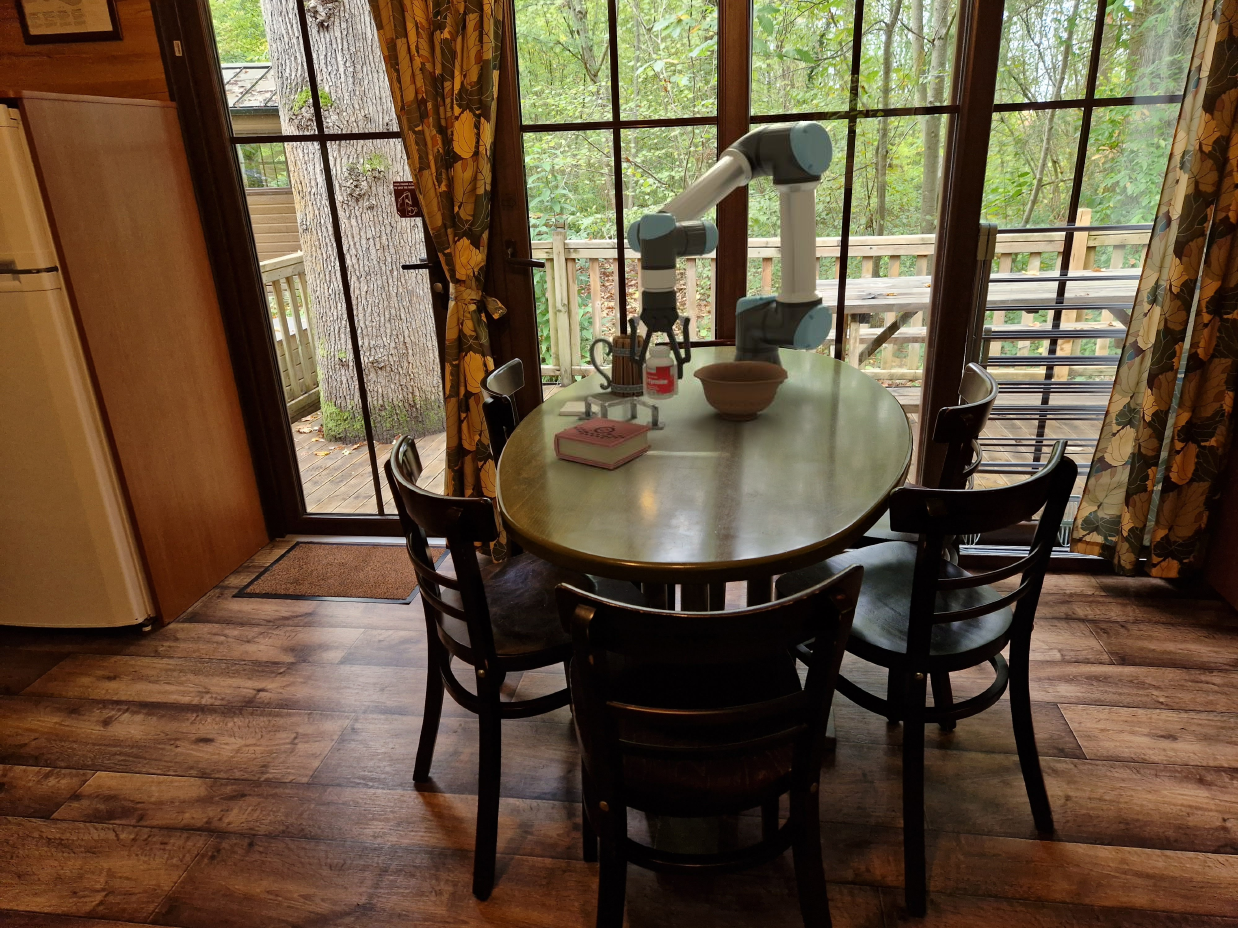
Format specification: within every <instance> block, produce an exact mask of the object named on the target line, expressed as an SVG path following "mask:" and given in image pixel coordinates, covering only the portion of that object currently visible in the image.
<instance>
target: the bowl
mask: <svg viewBox="0 0 1238 928" xmlns="http://www.w3.org/2000/svg"><path fill="white" fill-rule="evenodd" d="M693 377H694V378H697V379H698V380H699V381H700V382H701V385H702V389H703V394H704V397H705V400H706V402H707V403H708V405H710V406H711V407H712V408H713V409H715V410H716V411H719V412H720V416H721V417H722V418H723V419H725V420H727V421H728V420H729V421H736V422H738V421H739V422H740V421H741V422H743V421H752V420H756V419H757V418H758V417H759V413H760V412H762V411H764V410H765V409H766V408H769V407H770V406H771V404H772V403H773V402H774V400H775V398H776V394H777V392H778V388H779V386H780V385H781V383H783V382H782V380H784V381H785V380H787V379H788V378H789V375H788V370H787V369H785V368H784V367H783V368H782V367H781V366H779V365H776V364H772V363H768V362H757V361H739V362H733V361H727V362H726V361H725V362H715V363H712V364H708V365H704V366H702V367H700V368H698V369H697V370H694V372H693Z"/></svg>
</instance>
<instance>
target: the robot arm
mask: <svg viewBox="0 0 1238 928" xmlns="http://www.w3.org/2000/svg"><path fill="white" fill-rule="evenodd" d="M832 141H833V140H832V139H831V135H830V133H829V131H828V130H827V129H826V128H825V126H824V125H823V124H822V123H820V122H818V121H808V120H807V121H805V120H804V121H803V120H800V121H796V122H788V123H787V122H785V123H778V124H777V123H776V124H767V125H763V126H760V127H758V128H755V129H754V130H751V131H749V132H748V133H746V134H745V135H743V136H742V137H740V138H739V139H738V140H736V141H735V142H733V143H732V144H731V145H729V146H728V147H727V148H726V149H725V150H723V152H721V154H720V156H719V160H717V162H716V163H714V164H713V165H712V166H711V167H709V169H707V170H706V171H705V172H703V174H701V175H700V176H699V177H697V178H696V179H695V180H694V181H693V182H692V183H690V184H689V185H688V186H687V187H686V188H684V189H683V190H682V191H681V192H679V193H678V194H677V195H675V196H674V197H673V198H672V199H671V200H670V201H669V202H667V203H666V204H665V205H663V207H661V208H660V209H659V210H658V211H656V212H655V213H645V214H643V215H641V217H640V219H637V220H635V221H633V222H632V223H630V226H629V227H628V230H627V233H626V240H627V243H628V246H629V248H630V249H631V250H632V251H633V252H635V253H638V254H640V281H641V282H640V283H641V286H640V287H641V288H642V289H643V290H642V291H641V312H640V314H639V315H637V316H636V315H635V316H631V317H630V318H628V320H627V322H628V325H629V329H630V331H629V334H630V356H629V361H630V363H634V364H636V365H637V366H638V378H639V380H643V395H642V396H647V388H646V364H644V360H645V357H646V358H647V355H648V351H649V348H650V343H651V339H652V337H653V334H657V333H663V334H666V337H667V338H668V341H669V344H670V349H671V350H672V354H673V356H674V360H675V362H676V363H674V396H678V395H679V380H683V378H684V365H685V364H689V363H690V362H691V360H692V352H691V339H690V324H691V320H692V318H691V316H690V315H686V316H685V315H681V314H680V313H679V312H678V306H677V303H678V301H677V300H678V298H677V294H678V293H677V290H676V289H675V288H676V286H677V259H681V258H690V257H691V258H692V257H703V256H706V255H710V254H711V253H713V252H714V251H715V250H716V249H717V246H718V243H719V231H718V228H717V226H716V225H715V223H713V221H711V220H709V219H701V218H702V217H703V216H704V215H706V214H707V213H708V212H709V211H710V210H712V208H714V207H715V206H716V205H717V204H719V202H721V201H722V200H723V199H724V198H726V197H727V196H728V195H729V194H731V193H732V192H733V191H734V190H735V189H736V188H737V187H744V186H746V185H747V184H749V183H750V182H752V181H753V180H755V179H758V178H762V177H772V186H773V187H774V188H775V189H776V190H777V191H778V193H779V195H778V196H779V237H780V241H779V243H780V279H781V281H780V282H781V287H780V289H781V291H780V292H779V293H768V294H760V295H759V294H758V295H751V296H746V297H742V298H739V299H738V300H737V302H736V307H735V308H736V309H735V311H736V312H735V352H734V356H733V360H732V362H739V361H757V362H768V363H772V364H776V365H779V366H781V367H782V368H783V369H784V367H783V362H782V360H781V356H780V351H779V349H780V348H779V347H783V348H789V349H795V350H798V351H813V350H816V349H818V348H820V347H821V346H822V345H823V344H824V343H825V342H826V340H827V338H829V335H830V333H831V329H832V327H833V313H832V310H831V309H830V307H829V306H827V305H825V304H823V294H822V293H821V292H820V291H819V290H818V289H817V221H816V220H817V214H816V213H817V201H816V200H817V194H816V193H817V188H818V186H819V185H820V184H821V183H822V182H823V174H825V173H826V172H827V171H828V170H829V168H830V167H831V163H832V161H833V159H834V158H833V156H834V146H833V142H832ZM677 321H679V324H680V326H681V327H682V339H683V351H684V357H683V356H682V352H681V350H680V348H679V347H680V346H679V345H678V344H679V343H678V341H677V339H676V335H675V331H674V328H673V327H674V326H675V324H676V323H677ZM640 322H642V324H643V325H644V326H645V327H646V329H647V330H646V332H645V336H644V343H643V346H642V349H641V353H640V356H639V358H638V357H636V349H637V334H638V327H639V326H640ZM784 381H785V380H782V382H781V383H783V382H784Z"/></svg>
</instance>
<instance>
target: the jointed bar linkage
mask: <svg viewBox="0 0 1238 928" xmlns="http://www.w3.org/2000/svg"><path fill="white" fill-rule="evenodd" d="M584 402H585V413H581V415H578V419H579V420H591V419H594V418H596V417H599V412H598V413H592V405H591V404H593V405H596V406H598V407H600V408H601V409H600V418H606V419H609V416H608V415H609V414H608V412H609V411H608V408H613V407H617V406H622V405H627V404H629V412H630V413H629V416H630V419H632V420H633V419H634V420H635V419H637V418H638V405H639V406H642V407H644V408H646V409H649V410H651V421H647V422H646V424H645V425H646V426H651V430H664V427H665V425H666V421H660V420H659V416H660V415H659V413H660V412H659V404H655V403H653V402H650V401H647V400H644V399H641V398H639V397H638V396H635V397H624V398H621V399H617V400H612V401H608V402H603V401H601V400H598V399H596V398H593V397H592V396H591V395H589V396H588V395H587V396H584Z"/></svg>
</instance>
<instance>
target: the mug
mask: <svg viewBox="0 0 1238 928" xmlns="http://www.w3.org/2000/svg"><path fill="white" fill-rule="evenodd" d="M644 339H645V336H643V335H642V334H638V333H637V349H636V357H638V358H639V356H640V353H641V349H642V346H643V343H644ZM599 343H604V344H605V345H606V346H607V352H606V353H605V354H604V355H605V356H606V357H607V358H609V357H610V356H611V377H610V376H609V374H608V373H607V372H605V370H603V369H602V368H601V367H600V365H599V364H598V362H597V359H596V355H595V347H596V345H598V344H599ZM629 356H630V333H628V334H620V335H619V334H618V335H615V336H613V338H612V341H610V339H608V338H606V337H598V338H596V339H594V340H593V342H592V343H591V345H590V348H589V357H590V361H591V362H590V363H591V364H592V367H593V368H594V370H595V371H596V372H597V373H598V374H599V375H600V376H601V377H602V378H604V380H605V381H606V385H605V383H604V382H600V383H599V384H598V385H599V388H600V390H602V391H607V390H609V389H610V392H611V394H613V395H614V396H616V397H623V398H630V397H640V396H644V395H643V380H639V378H638V366H637V365H636V364H634V363H630V361H629ZM646 360H647V356H646V357H645V360H644V364H646Z"/></svg>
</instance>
